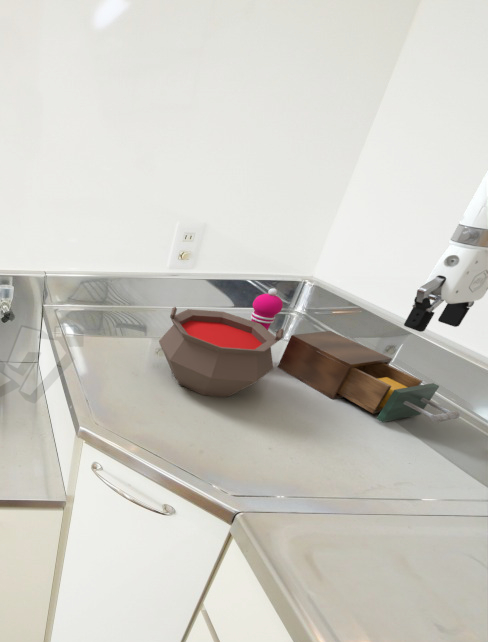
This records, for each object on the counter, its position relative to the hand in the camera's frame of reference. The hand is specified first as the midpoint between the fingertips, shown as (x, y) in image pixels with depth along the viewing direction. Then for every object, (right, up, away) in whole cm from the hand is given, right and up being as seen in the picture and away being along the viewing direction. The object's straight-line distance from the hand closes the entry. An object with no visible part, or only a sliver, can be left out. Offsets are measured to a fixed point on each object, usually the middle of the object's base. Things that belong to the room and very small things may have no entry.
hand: (430, 326), depth 83 cm
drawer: (-1, -17, +8) cm, 19 cm away
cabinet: (-5, -11, +20) cm, 24 cm away
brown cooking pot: (-36, -12, +17) cm, 41 cm away
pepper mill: (-21, -8, +26) cm, 34 cm away
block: (-2, -16, +9) cm, 18 cm away
